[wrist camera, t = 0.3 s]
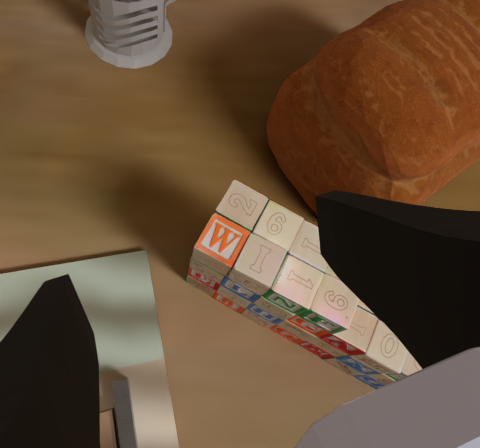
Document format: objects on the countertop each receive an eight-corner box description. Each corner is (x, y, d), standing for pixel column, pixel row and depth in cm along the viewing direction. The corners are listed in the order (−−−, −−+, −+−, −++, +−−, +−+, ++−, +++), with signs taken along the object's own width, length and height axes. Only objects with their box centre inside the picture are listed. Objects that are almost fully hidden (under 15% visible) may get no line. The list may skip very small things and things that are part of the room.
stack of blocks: (400, 332, 44) (485, 316, 32) (379, 392, 42) (462, 396, 30) (214, 228, 44) (233, 176, 33) (182, 282, 42) (192, 245, 30)
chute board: (193, 537, 35) (194, 540, 34) (3, 599, 32) (-1, 604, 31) (146, 252, 42) (146, 249, 41) (-14, 278, 39) (-17, 276, 38)
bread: (245, 131, 49) (287, 12, 33) (380, 58, 56) (467, -68, 40) (342, 259, 45) (439, 196, 30) (471, 165, 52) (605, 74, 37)
